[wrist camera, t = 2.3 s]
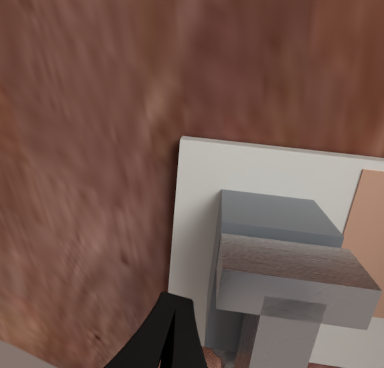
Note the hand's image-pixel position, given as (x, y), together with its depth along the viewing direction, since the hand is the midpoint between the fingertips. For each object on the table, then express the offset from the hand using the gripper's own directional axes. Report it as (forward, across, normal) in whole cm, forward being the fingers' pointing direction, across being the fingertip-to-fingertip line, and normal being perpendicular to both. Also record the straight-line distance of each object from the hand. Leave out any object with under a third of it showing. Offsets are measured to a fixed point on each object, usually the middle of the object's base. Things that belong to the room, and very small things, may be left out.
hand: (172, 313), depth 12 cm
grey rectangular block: (+5, -4, -1) cm, 7 cm away
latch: (+5, -4, +2) cm, 7 cm away
